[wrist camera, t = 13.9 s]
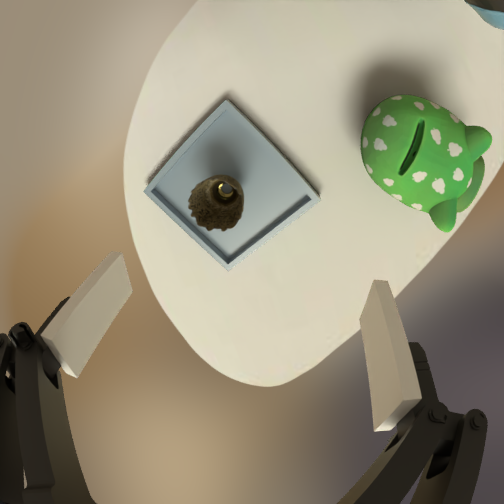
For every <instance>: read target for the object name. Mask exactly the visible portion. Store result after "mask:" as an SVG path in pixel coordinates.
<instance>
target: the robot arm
mask: <svg viewBox="0 0 504 504" xmlns="http://www.w3.org/2000/svg"><path fill="white" fill-rule="evenodd" d="M464 1H465V2H466V3H467V4H469V5H470V6H471V7H472V8H473V9H474V10H475V11H476V12H477V13H478V14H479V15H480V17H481V18H482V19H483V20H484V21H485V22H487V23H488V24H490V25H492V26H493V27H495V28H498V29H503V30H504V0H464ZM132 292H133V291H132V288H131V284H130V280H129V277H128V273H127V269H126V265H125V262H124V257H123V254H122V253H120V252H110V253H109V255H108V256H107V257H106V258H105V259H104V260H103V261H102V262H101V263H100V264H99V265H98V266H97V268H96V269H95V270H94V271H93V272H92V273H91V274H90V275H89V277H88V278H87V279H86V280H85V281H84V282H83V283H82V284H81V286H80V287H79V288H78V289H77V290H76V291H75V292H74V294H73V295H72V296H71V297H67V298H66V299H64V300H63V301H61V302H60V304H59V305H58V306H57V307H56V308H55V310H54V311H53V312H52V313H51V316H49V317H48V318H47V320H46V321H45V322H44V323H43V325H42V326H41V327H40V328H39V330H38V331H37V333H36V334H35V335H34V333H33V332H32V330H31V328H30V327H29V325H28V324H27V323H25V322H21V323H17V324H16V325H14V326H13V327H12V328H11V330H10V331H9V334H8V336H9V338H10V339H11V341H10V339H9V338H8V336H7V335H6V334H4V333H2V334H0V504H96V503H95V502H94V500H93V499H92V498H91V496H90V493H89V491H88V488H87V485H86V482H85V479H84V476H83V473H82V470H81V467H80V464H79V461H78V457H77V454H76V450H75V447H74V443H73V439H72V435H71V430H70V426H69V421H68V416H67V412H66V406H65V400H64V394H63V387H62V379H61V374H60V371H59V368H60V367H61V366H62V368H63V369H64V371H65V372H66V373H67V374H69V375H71V376H74V377H76V378H78V376H79V375H80V373H81V371H82V369H83V368H84V366H85V364H86V363H87V361H88V359H89V357H90V356H91V355H92V353H93V351H94V350H95V348H96V347H97V345H98V343H99V342H100V340H101V338H102V337H103V335H104V334H105V332H106V331H107V329H108V328H109V326H110V325H111V323H112V321H113V320H114V318H115V317H116V315H117V314H118V312H119V311H120V310H121V308H122V307H123V305H124V304H125V302H126V301H127V299H128V298H129V296H130V295H131V293H132ZM359 320H360V325H361V331H362V337H363V342H364V349H365V355H366V361H367V369H368V377H369V385H370V393H371V403H372V412H373V424H374V431H385V430H391V429H392V428H393V427H394V426H395V425H396V424H397V433H395V434H394V435H393V436H392V437H391V438H390V439H389V440H388V442H389V444H388V445H387V446H386V447H385V449H384V450H383V451H382V453H381V454H380V455H379V457H378V458H377V459H376V460H375V462H374V463H373V464H372V465H371V466H370V468H369V469H368V470H367V471H366V472H365V474H364V475H363V476H362V477H361V478H360V479H359V481H358V482H357V483H356V484H355V485H354V486H353V487H352V488H351V489H350V490H349V492H348V493H347V494H346V495H345V496H344V497H343V498H342V499H341V500H340V501H339V502H338V503H337V504H400V502H401V501H402V500H403V498H404V497H405V495H406V494H407V493H408V491H409V490H410V489H411V487H412V485H413V484H414V483H415V481H416V480H417V478H418V477H419V475H420V473H421V472H422V470H423V469H424V470H423V473H422V476H421V478H420V481H419V483H418V486H417V488H416V491H415V493H414V495H413V498H412V500H411V502H410V504H470V503H471V500H472V496H473V493H474V490H475V486H476V482H477V479H478V475H479V470H480V466H481V461H482V456H483V451H484V446H485V440H486V433H487V426H488V425H487V418H486V416H485V414H484V413H483V412H482V411H480V410H479V409H472V410H470V411H469V412H468V413H467V414H466V415H464V414H458V413H453V412H450V411H448V409H447V407H446V406H445V405H444V404H443V403H441V402H439V400H438V397H437V393H436V389H435V385H434V382H433V378H432V374H431V371H430V367H429V364H428V363H427V357H426V354H425V351H424V350H423V348H422V347H421V346H420V344H419V343H417V342H415V343H414V342H408V341H407V338H406V335H405V331H404V328H403V324H402V321H401V318H400V315H399V312H398V309H397V306H396V303H395V301H394V297H393V295H392V292H391V289H390V286H389V284H388V281H383V280H373V283H372V286H371V289H370V292H369V295H368V298H367V301H366V303H365V306H364V309H363V311H362V314H361V317H360V319H359ZM6 371H8V372H9V374H10V376H9V378H8V377H7V376H6ZM23 466H24V469H23ZM24 471H25V476H26V480H27V487H26V488H25V489H24Z"/></svg>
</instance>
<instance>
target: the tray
mask: <svg viewBox="0 0 504 504" xmlns="http://www.w3.org/2000/svg"><path fill="white" fill-rule="evenodd" d="M220 174H223V175H228V176H231V177H233V178H234V179H236V180H237V181H238V182H239V183H240V185H241V187H242V189H243V192H244V210H243V212H242V217H241V219H240V220H239V221H238V223H237V224H236V226H235V227H234V228H231V229H227V230H226V231H224V232H222V231H221V229H218V230H217V229H213V230H212V231H207V230H206V228H205V227H200V226H198V225H197V223H196V219H195V217H191V213H192V210H190V209H188V205H189V202H188V200H189V198H190V195H191V193H190V192H191V191H192V190H193V189H194V188H195V186H196V185H197V184H198V183H200V182H202V181H203V180H205V179H207V178H209V177H211V176H214V175H220ZM222 191H223V192H224V193H230V192H231V191H232V187H231V186H230V185H228V184H223V186H222ZM143 192H144V193H145V194H146V195H147V196H148V197H149V198H150V199H151V200H152V201H153V202H155V203H156V204H157V205H158V206H159V207H160V208H161V209H162V210H163V211H164V212H165V213H166V214H167V215H168V216H169V217H170V218H171V219H172V220H173V221H174V222H175V223H177V224H178V225H179V226H180V227H181V228H182V229H183V230H184V231H185V232H186V233H187V234H188V235H189V236H190V237H191V238H193V239H194V240H195V241H196V242H197V243H198V244H199V245H200V246H201V247H202V248H203V249H204V250H205V251H207V252H208V253H209V254H210V255H211V256H212V257H213V258H214V259H215V260H216V261H217V262H219V263H220V264H221V265H222V266H223V267H224V268H225V269H226V270H227V271H229V270H231V269H232V268H233V267H235V266H236V265H237V264H238V263H240V262H241V261H242V260H244V259H245V258H246V257H248V256H249V255H250V254H252V253H253V252H254V251H255V250H257V249H258V248H259V247H261V246H262V245H263V244H265V243H266V242H267V241H269V240H270V239H271V238H272V237H274V236H275V235H276V234H278V233H279V232H280V231H282V230H283V229H284V228H286V227H287V226H288V225H289V224H291V223H292V222H293V221H295V220H296V219H297V218H299V217H300V216H301V215H303V214H304V213H305V212H306V211H308V210H309V209H310V208H312V207H313V206H314V205H316V204H317V203H318V202H320V201H321V198H320V196H319V194H318V193H317V192H316V191H315V190H314V189H313V187H312V186H311V185H310V184H309V183H308V182H307V180H306V179H305V178H304V177H303V176H302V175H301V174H300V173H299V171H298V170H297V169H296V168H295V167H294V166H293V165H292V164H291V163H290V161H289V160H288V159H287V158H286V157H285V156H284V155H283V154H282V153H281V152H280V151H279V150H278V149H277V147H276V146H275V145H274V144H273V143H272V142H271V141H270V140H269V139H268V138H267V137H266V136H265V135H264V134H263V133H262V132H261V131H260V130H259V129H258V128H257V127H256V126H255V125H254V124H253V123H252V122H251V121H250V120H249V119H248V118H247V117H246V116H245V115H244V114H243V113H242V112H241V111H240V110H239V109H238V108H237V107H236V106H235V105H234V104H233V103H232V102H231V101H230V100H225V101H224V102H223V103H222V104H221V105H220V106H219V107H218V108H217V109H216V110H215V111H214V112H213V113H212V114H211V115H210V116H209V117H208V118H207V119H206V120H205V121H204V122H203V123H202V124H201V125H200V126H199V127H198V128H197V129H196V130H195V132H194V133H193V134H192V135H191V136H190V137H189V138H188V139H187V140H186V141H185V142H184V144H183V145H182V146H181V147H180V148H179V149H178V150H177V151H176V153H175V154H174V155H173V156H172V157H171V158H170V159H169V161H168V162H167V163H166V164H165V165H164V167H163V168H162V169H161V170H160V171H159V173H158V174H157V175H156V176H155V177H154V179H153V180H152V181H151V182H150V184H149V185H148V186H147V187H146V189H145V190H144V191H143Z"/></svg>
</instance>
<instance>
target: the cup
mask: <svg viewBox="0 0 504 504" xmlns="http://www.w3.org/2000/svg"><path fill="white" fill-rule="evenodd" d="M223 184H228V185H230V186H231V187H232V191H231V192H230V193H224V192H223V191H222V186H223ZM190 193H191V195H190V198H189V200H188V202H189V205H188V209H190V210H192V213H191V217H195V219H196V223H197V225H198V226H200V227H205V228H206V230H207V231H212V230H213V229H217V230H218V229H221V231H222V232H224V231H226V230H227V229H231V228H234V227H235V226H236V224H237V223H238V221H239V220H240V219H241V217H242V212H243V210H244V192H243V189H242V187H241V185H240V183H239V182H238V181H237V180H236V179H234V178H233V177H231V176H228V175H223V174H220V175H214V176H211V177H209V178H207V179H205V180H203V181H202V182H200V183H198V184H197V185H196V186H195V188H194V189H193V190H192V191H191V192H190Z"/></svg>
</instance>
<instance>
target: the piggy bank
mask: <svg viewBox="0 0 504 504" xmlns="http://www.w3.org/2000/svg"><path fill="white" fill-rule="evenodd" d="M491 143H492V136H491V134H490V133H489V132H488V131H487V130H486V129H484V128H483V127H480V126H466V125H465V124H464V123H463V122H462V121H460V120H459V119H458V118H457V117H456V116H455V115H454V114H452V113H451V112H450V111H448V110H447V109H445V108H443V107H441V106H439V105H437V104H435V103H433V102H431V101H429V100H426V99H424V98H421V97H417V96H412V95H396V96H392V97H389V98H387V99H386V100H384V101H382V102H381V103H380V104H378V105H377V106H376V107H375V108H374V109H373V110H372V112H371V113H370V114H369V116H368V117H367V119H366V121H365V124H364V126H363V129H362V135H361V155H362V160H363V163H364V166H365V168H366V170H367V172H368V174H369V175H370V177H371V178H372V179H373V180H374V182H375V183H376V184H377V185H378V186H379V187H380V188H382V189H383V190H384V191H385V192H387V193H388V194H389V195H391V196H392V197H394V198H396V199H397V200H399V201H400V202H402V203H404V204H405V205H407V206H409V207H411V208H414V209H417V210H420V211H423V212H427V213H429V215H430V217H431V219H432V221H433V222H434V224H435V225H436V226H437V228H439V229H440V230H441V231H444V232H450V231H451V230H452V229H453V227H454V225H455V222H456V214H457V212H462V211H464V210H465V209H466V208H467V207H468V206H469V205H470V204H471V203H472V201H473V200H474V198H475V197H476V195H477V193H478V191H479V188H480V186H481V183H482V180H483V177H484V171H485V164H484V160H483V158H482V156H481V155H482V154H483V153H484V152H486V151H487V150H488V148H489V147H490V145H491Z"/></svg>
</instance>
